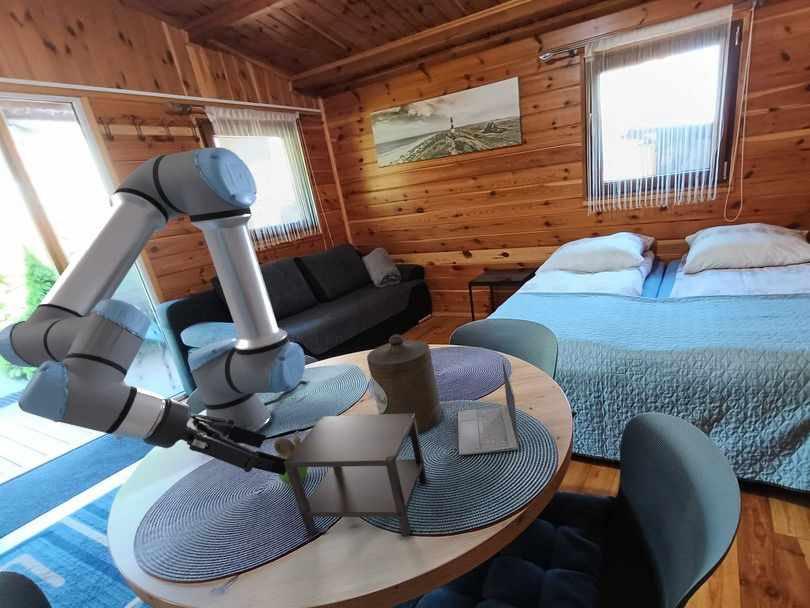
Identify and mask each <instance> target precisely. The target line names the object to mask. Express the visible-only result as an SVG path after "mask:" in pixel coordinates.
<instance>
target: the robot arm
mask: <svg viewBox="0 0 810 608" xmlns="http://www.w3.org/2000/svg"><path fill="white" fill-rule="evenodd" d="M257 191H258V189H257V184H256V181H255V179H254V177H253V173H252V172H251V170H250V168H249V167H248V165H247V164H246V163H245V162H244V161H243V160H242V159H241V158H240V157H239V156H238V155H237V153H235V152H234V151H232V150H230V149H228V148H225V147H220V146H219V147H217V146H216V147H199V148H196V149H191V150H187V151H186V150H185V151H180V152H175V153H169V154H161V155H157V156H156V155H155V156H154V157H151V158H149V159H147V160H146V161H144V162H143V163H141V164H140V165H138V167H136V168H135V169H134V170H133V171H132V172H131V173H130V174H129V175H128V176H127V177H126V178H125V179H124V180H123V181H122V182H121V183H120V185H119V186H118V187H117V188H116V190H115V191H114V192H113V194H112V195H111V196H110V198H109V205H110V207H111V208H110V209H109V211H108V212H107V213H106V215H105V216H104V217H103V218H102V220H101V221H100V222H99V224H98V225H97V226H96V228H95V229H94V230H93V232H91V234H90V235H89V237H88V239H87V240H86V241H85V242H84V244H83V245H82V247H81V248H80V249H79V250H78V252H77V253H76V255H75V256H73V259H72V260H71V261H70V262H69V264H68V265H67V267H66V268H64V270H63V271H62V273H61V274H60V276H59V277H58V278H57V280H56V281H55V282H54V284H53V285H52V287H50V289H49V290H48V292H47V293H46V294H45V296H44V297H43V299H42V300H41V301H40V302H39V304H38V305H37V306H36V308H35V309H34V310H33V312H32V313H31V314H30V315H29V317H27V319H26V320H19V321H18V322H14V323H11V324H9V325H7V326H5V327H4V328H2V329H1V331H0V356H1V357H2V359H3V360H5V361H6V362H7V363H10V364H11V365H13V366H16V367H20V368H36V370H35V372H34V373H33V375H32V377H31V378H30V379H29V381H28V382H27V384H26V386H25V387H24V389H23V391H22V392H21V394H20V396H19V398H18V403H17V404H18V407H19V409H20V410H21V411H22V412H24V413H26V414H29V415H33V416H37V417H40V418H43V419H47V420H49V421H53V422H54V423H62V424H66V425H70V426H75V427H79V428H84V429H88V430H91V431H95V432H100V433H103V434H108V435H112V436H114V439H115V440H117V441H120V440H122V439H123V438H125V439H127V440H132V441H136V442H140V441H142V440H143V442H144V443H145V444H147V445H151V446H154V447H159V448H163V449H169V448H172V447H174V445H176V443H178V442H179V441H183V442H186V444H187V446H189V447H188V449H189V450H190V451H192V452H197V453H200V454H203V455H205V456H206V455H207V456H209V457H211V458H214V459H216V460H219V461H220V462H224V463H227V464H229V465H231V466H234V467H237V468H239V469H241V470H243V471H244V472H246V473H250V472H251V471H252V470H253V469H257V470H261V471H264V472H269V473H271V474H272V473H273V474H276V475H279V474H280V475H285V473H286V468H285V465H284V462H285V461H286V459H285V458H281V457H277V455H274V454H271V453H266V452H264V451H260V450H256V451H254V450H252V449H249V448H247V447H245V446H243V445H241V444H244V445H248V446H250V447H254V448H257V449H260V448H261V447H262V445H263V443H264V442H265V440H266V437H267V435H266V434H264V433H261V432H262V431H263V430H264V429H266V428H267V427H268V426H269V425H270V424H271V422H272V420H273V417H272V414H271V411H270V410H269V408H268V406H269V405H273V404H275V403H279V402H280V401H281V400H282V399H283V398H284V397H285V396H287V395H289V394H291V393H293V392H294V391H295V390H297V388H298V387H300V386H301V385H306V384H308V381H305V380H302V379H303V376H304V373H305V367H306V357H305V353H304V349H303V348H302V347H301V346H300V344H298V343H296V342H293V341H290V339H289V336H288V333H287V331H285V330H283V329H282V328H280V327H279V326H278V323H277V320H276V316H275V313H274V309H273V307H272V303H271V300H270V296H269V292H268V289H267V287H266V283H265V280H264V277H263V274H262V270H261V266H260V263H259V260H258V257H257V253H256V249H255V246H254V244H253V240H252V236H251V234H250V231H249V226H248V222H249V221H250V219H251V217H252V216H253V214H252V210H251V206H253V205H254V204H255V202H256V200H257V196H256V195H257V193H258V192H257ZM184 215H187V216H188V218H189V221H190V224H191V225H193V226H195V227H196V228H197V229H199V230H201V231H202V234H203V236H204V239H205V242H206V245H207V248H208V251H209V255H210V257H211V259H212V262H213V266H214V269H215V271H216V274H217V277H218V280H219V283H220V286H221V289H222V291H223V295H224V297H225V301H226V304H227V306H228V309H229V312H230V315H231V318H232V320H233V324H234V328H235V330H236V332H237V336H238V338H234V337H231V338H226V339H221V340H218V341H215V342H212V343H210V344H206V345H204V346H202V347H199V348H198V349H195V350H194V351H193V352H191V353H190V354H189V355H188V357H187V362H188V366H189V369H190V373H191V376H192V378H193V381H194V383H195V385H196V388H197V390H198V392H199V395H200V398H201V400H202V403H203V405H204V408H205V410H206V411H205V412H206V415H203V414H197V413H193V412H192V409H191V406H190V405H189V404H187V403H185V402H181V401H178V400H175V399H172V398H164V396H163V395H161V394H157V393H154V392H151V391H148V390H145V389H143V388H138V387H136V386H132V385H129V384H126V383H124V380H125V379H126V376H127V375H128V371H130V367H131V366H132V364H133V362H134V361H135V358H136V357H137V354H138V353H139V351H140V349H141V347H142V346H143V343H144V342H145V341H146V337H147V333H148V331H149V329H150V326H151V322H152V320H151V317H150V316H149V314H148V313H147V312H146V311H145V310H143V309H142V308H140V307H138V306H137V305H135V304H133V303H130V302H128V301H124V300H120V299H114V298H113V296H114V295H115V293H116V291H117V290H118V288H119V287H120V285H121V284H122V282H123V281H124V280H125V278H126V276H127V275H128V273H129V272H130V270H131V269H132V267H133V265H134V264H135V262H136V261H137V259H138V258H139V256H140V255H141V254H142V252H143V250H144V249H145V247H146V246H147V244H148V242H149V241H150V240H151V238H152V237H153V235H154V234H155V233H157V232H161V231H163V230H164V229H165V228H166V226H167V224H168V223H169V222H170V221H171V220H173V219H175V218H177V217H179V216H184ZM271 393H273V394H279V393H281V394H280V395H279V396H278V397H276V398H274V399H271V400H268V401H266V402H263V401H262V400H261V398H260V397H259V396H258V395H257V394H271ZM239 443H240V444H239Z"/></svg>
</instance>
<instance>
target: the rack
mask: <svg viewBox="0 0 810 608" xmlns="http://www.w3.org/2000/svg"><path fill="white" fill-rule="evenodd" d="M409 431H410V435H408V433H409ZM408 436H410V440H411V445H412V446H411V447H412V450H413V456H414V458H411V459H408V458H406V459H402V458H401V459H398V457H399V455H400V452H401V450H402V448H403V446H404V443H405V441H406V439H407V437H408ZM284 465H285V468H286V471H287V474H288V477H289V480H290V483H291V485H290V486H291V489H292V493H293V495H294V498H295V501H296V504H297V507H298V510H299V513H300V516H301V519H302V522H303V525H304V528H305V531H306V535H307V536H315V534H316V533H317V531H318V529H317V525H316V522H315V519H314V518H397V520H398V524H399V528H400V533H401V536H402V537H410V534H411V526H410V522H409V516H408V509H409V506H410V504H411V501H412V498H413V495H414V493H415V489H416V487H417V485H418V481H419V485H426V484H427V483H428V477H427V472H426V467H425V461H424V456H423V451H422V446H421V439H420V435H419V433H418V429H417V424H416V418H415V413H405V414H379V413H378V414H358V415H357V414H355V415H333V416H332V415H330V416H322V417H320V418H319V420H318V421H317V422H316V423H315V425H314V426H313V427H312V428H311V430H309V432H308V433H307V434H306V436H305V437H303V439H302V440H301V441H300V444H299V445H298V446H297V448H296V449H295V450H294V451H293V452H292V453H291V455H290V456H289V457H288V458H287V459H286V461H285V462H284ZM297 467H307V468H328V470H327V472H326V473H325V474H324V476H323V477H322V479H321V481H319V483H318V485H317V487H316V488H315V489H314V491H313V493H312V494H311V495H310V497H309V498H308V497H307V494H306V490H305V488H304V485H303V481H301V478H300V475H299V472H298V469H297Z"/></svg>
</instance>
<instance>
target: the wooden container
mask: <svg viewBox="0 0 810 608" xmlns="http://www.w3.org/2000/svg"><path fill="white" fill-rule="evenodd" d="M388 342H389V343H386V344H383V345H380V346H378V347H376V348H374V349H372V350H371V351H370V352H369V353H367V356H366V358H367V359H366V361H367V366H368V370H369V373H370V379H371V383H372V388H373V395H374V398H375V403H376V407H377V411H378V415H379V414H405V413H415V418H416V424H417V429H418V434H419V433H423V432H425V431H429V429H431V428H433V427H434V426H436V425H437V424H438V423H439V421H440V420H441V419H442V409H441V408H442V407H441V403H440V395H439V390H438V385H437V379H436V375H435V371H434V370H435V369H434V364H433V360H432V353H431V348H430V346H429V344H428V343H427V342H425V341H421V340H405V338H404V336H402V335H400V334H398V333H397V334H393V335H391V336H390V338H389V339H388ZM407 436H410V431H409V433H408V435H407Z"/></svg>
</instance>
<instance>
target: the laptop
mask: <svg viewBox="0 0 810 608" xmlns="http://www.w3.org/2000/svg"><path fill="white" fill-rule="evenodd" d="M502 368H503V379H504V389H505V399H506V401H505V402H506V405H497V406H488V407H480V408H473V409H465V410H458V411H457V426H458V428H457V433H458V434H457V435H458V455H459V456H467V455H476V454H486V453H499V452H507V451H514V450H515V451H516V450H519V447H520V445H519V433H518V422H517V411H516V400H515V393H514V389H513V387H512V383H511V379H510V376H509V373H508V370H507V366H506V363H505V360H504V359H502Z"/></svg>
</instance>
